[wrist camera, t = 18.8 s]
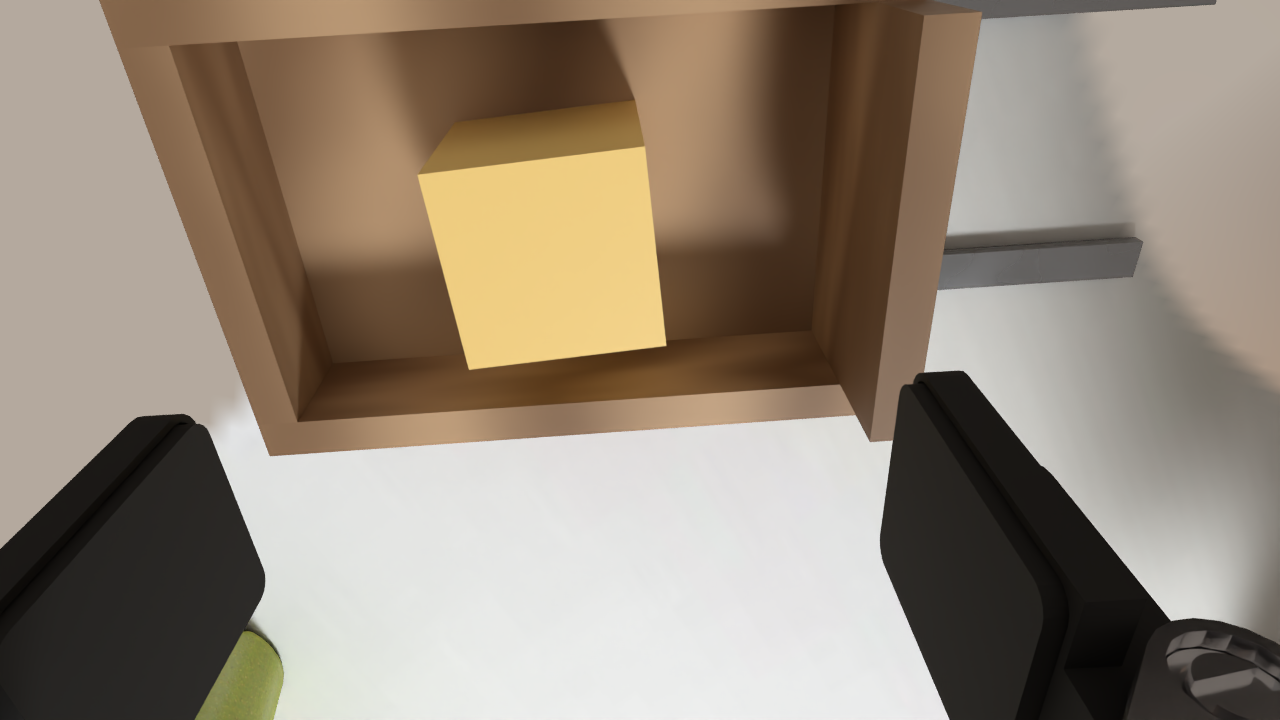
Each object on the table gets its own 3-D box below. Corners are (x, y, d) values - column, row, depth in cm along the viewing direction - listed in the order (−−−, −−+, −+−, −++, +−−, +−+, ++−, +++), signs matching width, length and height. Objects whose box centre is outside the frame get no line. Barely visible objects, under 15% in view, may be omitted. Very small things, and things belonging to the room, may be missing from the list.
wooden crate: (854, -63, 19) (993, -55, 12) (823, 323, 25) (907, 473, 18) (216, -25, 19) (6, 4, 12) (330, 357, 24) (229, 521, 18)
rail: (1231, -86, 20) (1306, -87, 18) (1117, 296, 25) (1164, 330, 23) (154, -22, 19) (100, -15, 17) (280, 353, 25) (251, 393, 23)
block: (635, 99, 19) (645, 146, 15) (653, 267, 21) (666, 346, 17) (454, 122, 19) (417, 174, 15) (492, 286, 21) (468, 369, 17)
